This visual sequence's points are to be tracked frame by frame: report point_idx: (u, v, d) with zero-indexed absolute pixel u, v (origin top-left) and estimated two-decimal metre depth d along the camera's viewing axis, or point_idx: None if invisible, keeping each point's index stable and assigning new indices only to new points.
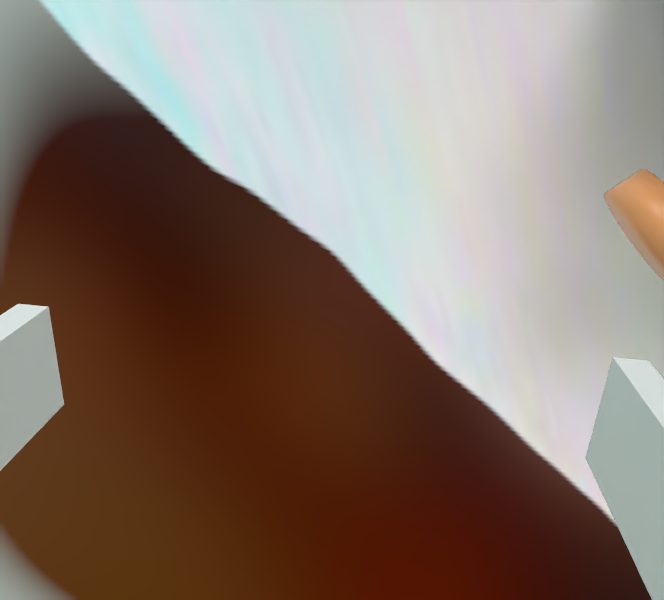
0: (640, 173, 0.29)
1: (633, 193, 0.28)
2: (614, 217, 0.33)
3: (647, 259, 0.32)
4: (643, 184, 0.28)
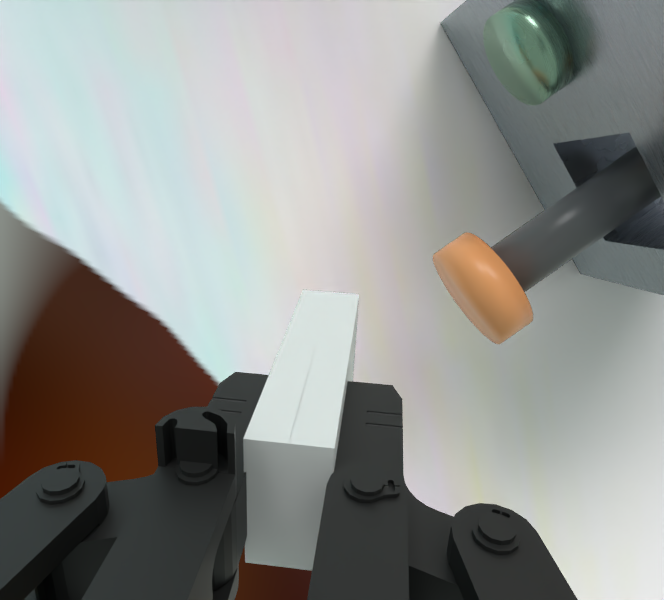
0: (463, 235, 0.31)
1: (458, 251, 0.30)
2: (443, 282, 0.34)
3: (474, 321, 0.33)
4: (466, 243, 0.30)
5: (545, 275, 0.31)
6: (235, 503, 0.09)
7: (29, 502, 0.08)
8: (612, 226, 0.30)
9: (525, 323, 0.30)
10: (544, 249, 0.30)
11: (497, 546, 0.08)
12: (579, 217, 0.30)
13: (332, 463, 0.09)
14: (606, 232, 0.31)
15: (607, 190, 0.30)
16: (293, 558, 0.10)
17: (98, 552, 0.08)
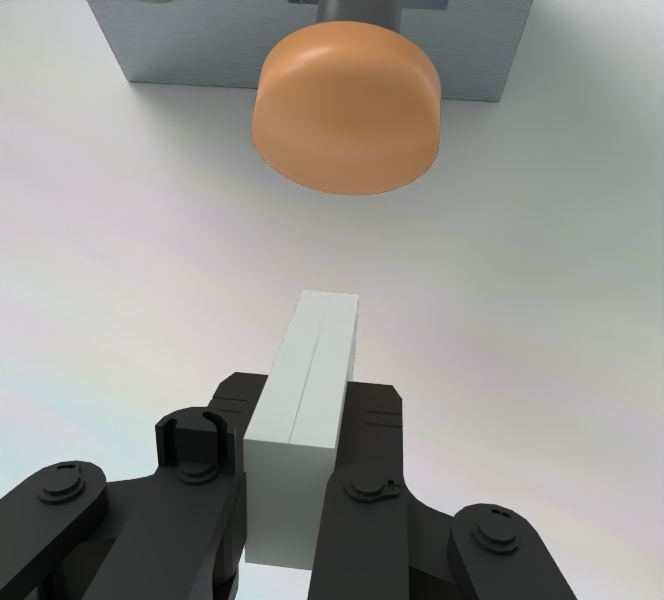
0: None
1: (256, 97, 0.18)
2: (330, 192, 0.21)
3: (399, 168, 0.19)
4: None
5: (388, 25, 0.19)
6: (235, 503, 0.09)
7: (29, 502, 0.08)
8: None
9: (422, 63, 0.17)
10: (346, 1, 0.19)
11: (497, 547, 0.08)
12: None
13: (332, 463, 0.09)
14: None
15: None
16: (293, 557, 0.10)
17: (98, 552, 0.08)
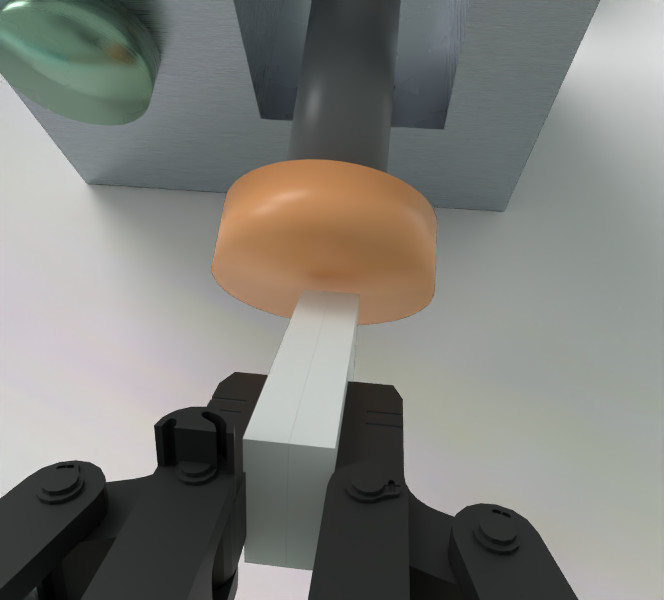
0: None
1: None
2: None
3: (389, 307, 0.17)
4: (221, 219, 0.16)
5: (375, 143, 0.16)
6: (234, 503, 0.09)
7: (28, 502, 0.08)
8: (380, 23, 0.18)
9: (413, 205, 0.14)
10: (325, 116, 0.16)
11: (498, 546, 0.08)
12: (324, 50, 0.17)
13: (333, 463, 0.09)
14: (384, 35, 0.18)
15: (323, 4, 0.18)
16: (294, 557, 0.10)
17: (97, 552, 0.08)
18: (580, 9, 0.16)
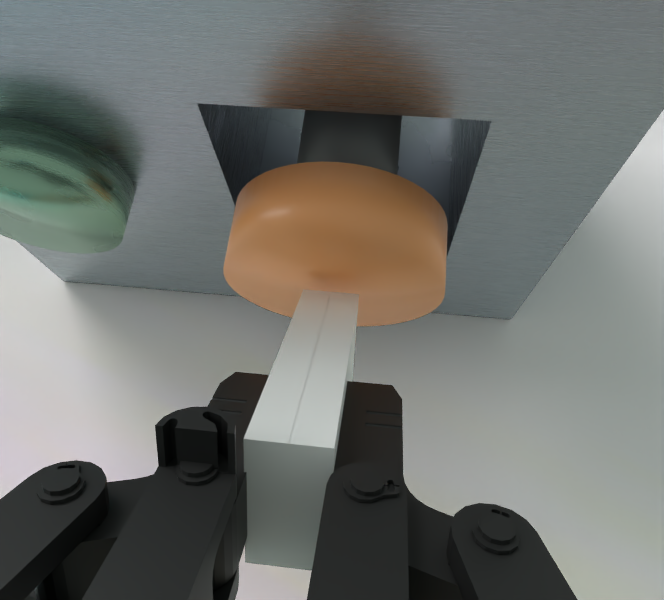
0: None
1: (229, 238, 0.15)
2: None
3: (398, 309, 0.17)
4: None
5: (386, 145, 0.16)
6: (235, 503, 0.09)
7: (29, 503, 0.08)
8: None
9: (425, 207, 0.14)
10: (337, 118, 0.16)
11: (497, 546, 0.08)
12: None
13: (332, 463, 0.09)
14: None
15: None
16: (293, 557, 0.10)
17: (98, 552, 0.08)
18: (603, 167, 0.14)
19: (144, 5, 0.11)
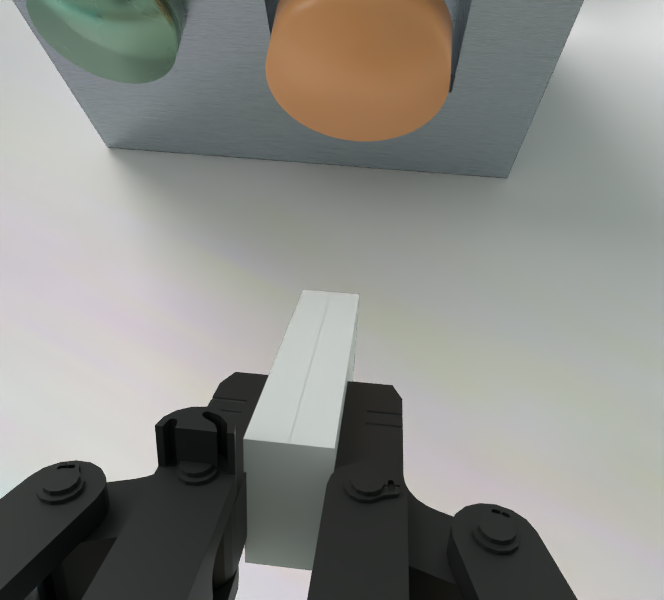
0: None
1: (271, 34, 0.18)
2: (341, 138, 0.22)
3: (410, 111, 0.20)
4: (273, 24, 0.19)
5: None
6: (235, 503, 0.09)
7: (29, 502, 0.08)
8: None
9: (434, 0, 0.17)
10: None
11: (497, 546, 0.08)
12: None
13: (332, 463, 0.09)
14: None
15: None
16: (293, 557, 0.10)
17: (98, 552, 0.08)
18: None
19: None
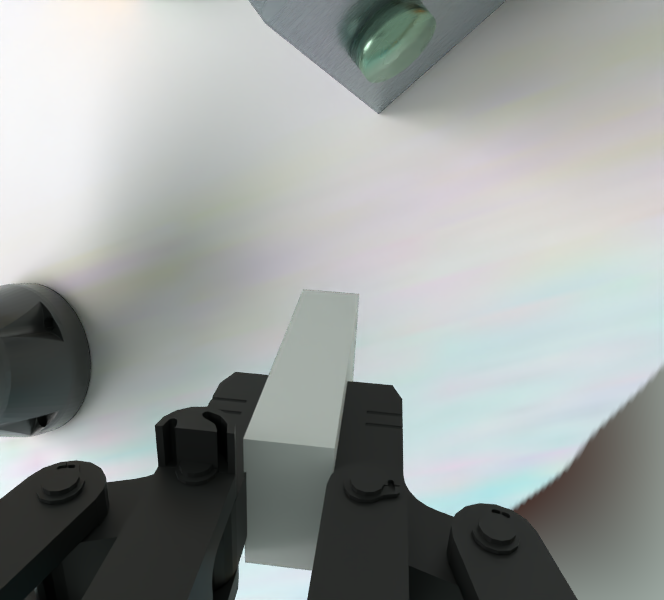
0: None
1: None
2: None
3: None
4: None
5: None
6: (235, 503, 0.09)
7: (28, 502, 0.08)
8: None
9: None
10: None
11: (497, 546, 0.08)
12: None
13: (332, 463, 0.09)
14: None
15: None
16: (294, 557, 0.10)
17: (98, 552, 0.08)
18: None
19: None
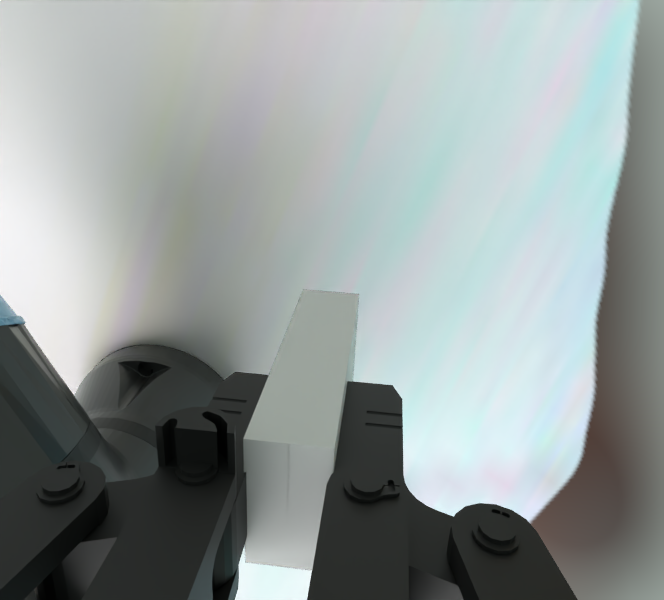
0: None
1: None
2: None
3: None
4: None
5: None
6: (235, 503, 0.09)
7: (29, 502, 0.08)
8: None
9: None
10: None
11: (497, 546, 0.08)
12: None
13: (332, 463, 0.09)
14: None
15: None
16: (293, 557, 0.10)
17: (98, 552, 0.08)
18: None
19: None
